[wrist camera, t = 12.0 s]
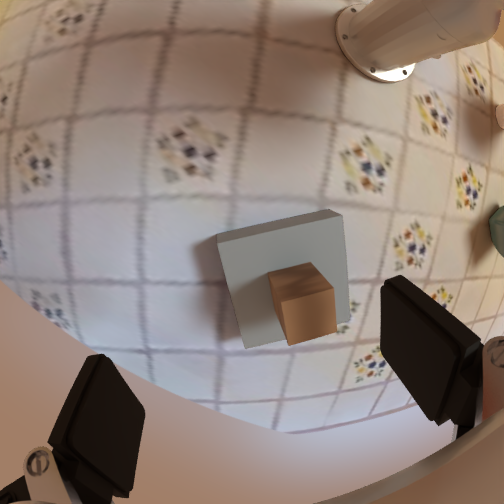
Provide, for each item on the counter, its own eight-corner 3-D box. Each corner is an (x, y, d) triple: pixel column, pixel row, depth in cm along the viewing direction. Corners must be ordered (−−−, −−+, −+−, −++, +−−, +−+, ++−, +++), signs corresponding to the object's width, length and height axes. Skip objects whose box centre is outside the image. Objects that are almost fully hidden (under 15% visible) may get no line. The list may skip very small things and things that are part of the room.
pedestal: (329, 209, 34) (342, 215, 30) (338, 306, 39) (349, 320, 35) (216, 234, 33) (216, 243, 29) (242, 331, 38) (245, 348, 34)
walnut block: (310, 261, 31) (334, 288, 25) (315, 299, 33) (336, 331, 26) (267, 272, 31) (281, 302, 25) (274, 310, 33) (288, 345, 26)
